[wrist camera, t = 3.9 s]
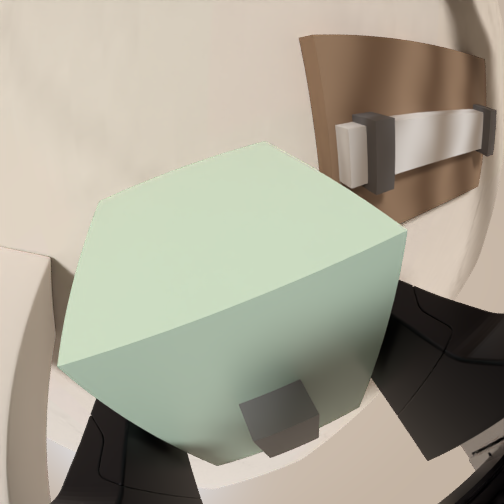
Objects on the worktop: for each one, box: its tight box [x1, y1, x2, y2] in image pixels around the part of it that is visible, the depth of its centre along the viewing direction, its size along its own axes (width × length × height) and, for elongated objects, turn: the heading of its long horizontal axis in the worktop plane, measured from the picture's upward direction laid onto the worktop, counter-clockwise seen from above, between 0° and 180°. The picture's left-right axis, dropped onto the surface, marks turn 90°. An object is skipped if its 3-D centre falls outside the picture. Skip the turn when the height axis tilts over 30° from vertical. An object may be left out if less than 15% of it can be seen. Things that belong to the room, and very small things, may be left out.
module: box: [57, 141, 407, 466], centre depth 7 cm, size 5×7×6 cm
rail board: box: [299, 35, 496, 224], centre depth 16 cm, size 20×14×4 cm
